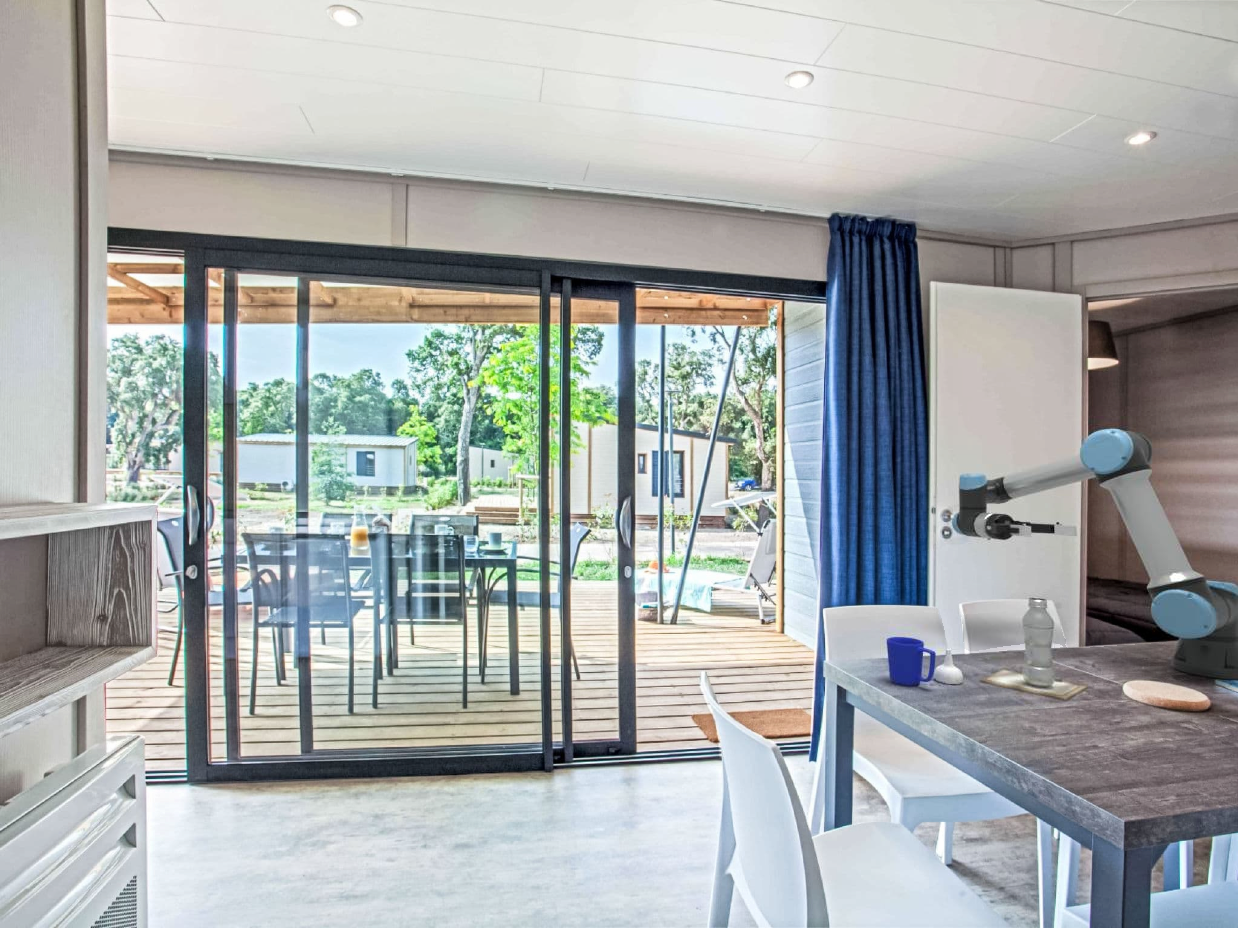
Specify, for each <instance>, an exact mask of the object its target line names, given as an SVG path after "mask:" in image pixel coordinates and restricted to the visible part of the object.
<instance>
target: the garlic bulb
mask: <svg viewBox="0 0 1238 928" xmlns="http://www.w3.org/2000/svg"><path fill="white" fill-rule="evenodd" d="M953 661H954V660H953V655H952V649H951V648H946V649H945V657H944V662H943V664H940V665H938V666H937V667H935V669H934V674H933V677H934V679H935V681H937V682H938V681H939V682H938V683H941V682H942V683H941V684H944V683H945V684H946V685H951V684H956V685H961V684H962V682H963V680H964V675H963V673H962V671H961V670H960V669H959V668H958V667H957V666H955V665H954V662H953ZM945 684H944V685H945Z"/></svg>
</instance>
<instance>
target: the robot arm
mask: <svg viewBox="0 0 1238 928" xmlns="http://www.w3.org/2000/svg"><path fill="white" fill-rule="evenodd" d="M1153 457H1154V446H1153V444H1152V442H1151V441H1150V440H1149V439H1148V437H1146V436H1145V435H1143V434H1142V433H1140V432H1136V431H1132V430H1121V429H1118V428H1106V429H1099V430H1096V431H1094V432H1093V433H1091V434H1088V435H1087V437H1086V438H1085V439H1084V441H1083V442H1082V444H1081V445H1080V449H1079V454H1075V455H1073V456H1068V457H1065V458H1062V459H1058V460H1055V461H1051V462H1048V463H1045V464H1042V465H1038V466H1034V467H1032V468H1029V469H1025V470H1024V469H1023V470H1021V471H1017V472H1014V473H1011V474H1008V475H1005V476H1001V477H997V478H994V479H987V476H986V474H984V473H962V474H960V476H959V481H958V501H959V502H958V503H959V505H958V506H959V510H958V512H956V513H955V514H954V516H953V518H952V520H951V526H952V528H953V530H954V531H955V532H956V533H957V534H958V535H963V536H965V537H966V536H967V537H973V538H974V537H975V538H983V539H985V538H986V540H987V541H991V539H994V540H1000V541H1006V540H1009V539H1010V538H1012V537H1013V536H1017V537H1018V536H1019V537H1028V538H1031V537H1032V534H1053V535H1059V536H1067V537H1077V534H1078V531H1077V525H1070V524H1069V525H1068V524H1061V523H1060V521H1059V522H1058V521H1056V524H1052V523H1033V522H1032V523H1031V522H1030V521H1020V520H1014V519H1013V517H1012V516H1010V515H1008V514H1006V513H994V512H987V511H988V507H987V506H988V505H987V504H990V505H991V504H995V505H1000V504H1004V503H1007V502H1009V501H1010V500H1014V499H1018V498H1022V497H1026V496H1030V495H1033V494H1038V493H1040V492H1044V491H1048V490H1053V489H1055V488H1059V487H1063V486H1067V485H1070V484H1071V485H1072V484H1074V483H1078V482H1082V481H1083V482H1084V481H1087V480H1091V479H1095V478H1096V481H1097V482H1098V484H1099V486H1100V487H1101V488H1103V489H1106V490H1108V491H1109V493H1110V494H1111V497H1112V498H1113V501H1114V503H1115V505H1116V507H1117V510H1118V511H1119V514H1120V516H1121V518H1122V520H1123V522H1124V524H1125V527H1126V529H1127V531H1128V534H1129V535H1130V537H1131V540H1132V542H1133V544H1134V546H1135V548H1136V551H1137V552H1138V555H1139V556H1140V559H1141V561H1142V563H1143V565H1144V568H1145V569H1146V572H1147V574H1148V577H1149V579H1150V581H1149V583H1148V584H1147V586H1146V589H1147V592H1148V593H1149V595H1150V598H1151V600H1152V602H1151V606H1150V613H1151V617H1152V619H1153V621H1154V622H1155V623H1156V625H1157V626H1158V627H1159V628H1160V629H1161V630H1162V631H1163V632H1165V633H1167V634H1169V635H1171V636H1174V637H1177V638H1179V639H1178V640H1177V643H1176V644H1175V645H1176V646H1175V648H1174V650H1173V653H1172V655H1171V658H1170V659H1171V660H1170V661H1171V665H1170V666H1171V667H1172V668H1173V669H1175V670H1177V671H1180V672H1183V673H1187V674H1190V675H1195V676H1199V677H1206V678H1213V679H1222V680H1223V679H1224V680H1238V585H1236V584H1235V583H1233V582H1225V581H1217V580H1216V581H1213V580H1208V579H1207V580H1206V578H1205V576H1204V574H1201V573H1199V572H1197V571H1195V570H1193V568H1192V567H1191V564H1190V563H1189V561H1188V557H1187V556H1186V554H1185V552H1184V550H1183V548H1182V546H1181V544H1180V542H1179V540H1178V538H1177V535H1176V534H1175V531H1174V529H1173V528H1172V525H1171V523H1170V521H1169V519H1168V517H1167V515H1166V513H1165V510H1164V509H1163V506H1162V504H1161V503H1160V500H1159V498H1158V496H1157V494H1156V492H1155V491H1154V487H1152V484H1151V483H1150V480H1149V479H1150V478H1149V477H1150V475H1151V474H1152V473H1153V470H1152V468H1151V466H1150V464H1151V463H1152V461H1153Z"/></svg>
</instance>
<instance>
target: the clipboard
mask: <svg viewBox="0 0 1238 928" xmlns="http://www.w3.org/2000/svg"><path fill="white" fill-rule="evenodd" d="M982 682H983V683H984V684H988V685H993V686H996V687H1002V688H1005V689H1009V690H1010V689H1011V690H1015V691H1018V692H1019V691H1020V692H1023V693H1029V694H1032V695H1033V694H1034V695H1037V696H1042V697H1046V698H1050V699H1051V698H1052V699H1057V700H1061V701H1068V700H1069V699H1071V698H1073V697H1075V696H1076V695H1078V694H1080V693H1081V692H1084V691H1085V690H1087V688H1088V686H1086V685H1082V684H1078V683H1071V682H1067V681H1063V678H1062V677H1058V676H1055V680H1054V683H1053V684H1052V686H1048V687H1040V686H1035V685H1031V684H1029V683H1027V682H1026V681H1025V680H1024V678H1023V674H1022V672H1017V671H1012V670H1006V669H1002V670H999V671H997V672H995V673H992V674H990V675H987V676H985V677H983V678H981V679H979V683H982Z"/></svg>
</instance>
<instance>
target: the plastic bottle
mask: <svg viewBox="0 0 1238 928" xmlns="http://www.w3.org/2000/svg"><path fill="white" fill-rule="evenodd" d="M1047 600H1048V599H1045V598H1041V597H1028V603H1027V606H1028V607H1029V609H1028V610H1027V611H1026V612H1025V614H1024V615H1023V617H1022V619H1021V623H1022V631H1023V636H1024V644H1025V645H1024V648H1025V649H1024V658H1023V659H1024V661H1023V665H1022V669H1021V670H1022V671H1021V673H1022V674H1023V678H1024V680H1025V681H1026V682H1027V683H1029V684H1031V685H1035V686H1040V687H1048V686H1052V684H1053V683H1054V680H1055V677H1056V673H1055V668H1054V665H1053V663H1054V661H1053V654H1052V650H1053V648H1052V646H1053V635H1054V629H1055V621H1054V618H1053V617H1052V615H1051V614H1050V613H1049V612H1048V610H1047V609H1048V603H1047V602H1048V601H1047Z"/></svg>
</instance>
